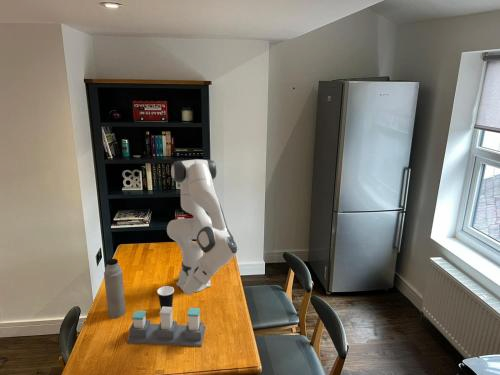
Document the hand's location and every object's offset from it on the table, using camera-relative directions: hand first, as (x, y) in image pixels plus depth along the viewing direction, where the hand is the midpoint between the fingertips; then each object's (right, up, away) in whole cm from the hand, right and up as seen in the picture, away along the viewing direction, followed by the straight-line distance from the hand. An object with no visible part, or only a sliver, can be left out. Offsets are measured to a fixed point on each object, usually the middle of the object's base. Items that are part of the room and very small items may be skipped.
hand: (182, 287), depth 154 cm
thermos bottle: (-35, -18, +22) cm, 46 cm away
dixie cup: (-12, -18, +25) cm, 33 cm away
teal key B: (+4, -20, +6) cm, 21 cm away
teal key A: (-20, -22, +7) cm, 30 cm away
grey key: (-8, -19, +6) cm, 22 cm away
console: (-8, -23, +7) cm, 26 cm away
